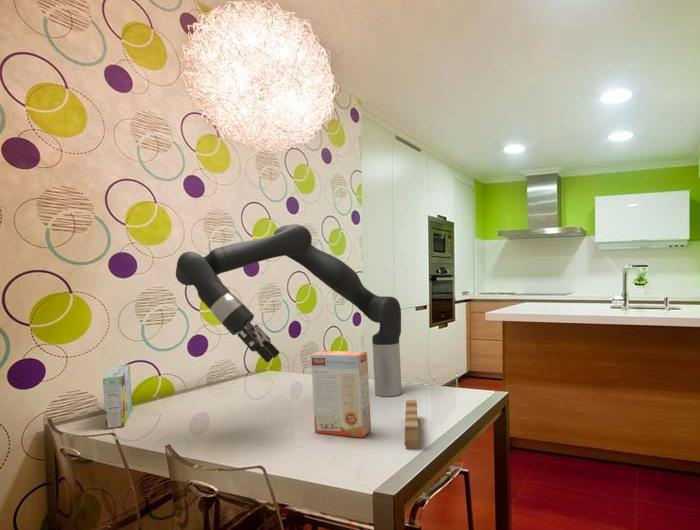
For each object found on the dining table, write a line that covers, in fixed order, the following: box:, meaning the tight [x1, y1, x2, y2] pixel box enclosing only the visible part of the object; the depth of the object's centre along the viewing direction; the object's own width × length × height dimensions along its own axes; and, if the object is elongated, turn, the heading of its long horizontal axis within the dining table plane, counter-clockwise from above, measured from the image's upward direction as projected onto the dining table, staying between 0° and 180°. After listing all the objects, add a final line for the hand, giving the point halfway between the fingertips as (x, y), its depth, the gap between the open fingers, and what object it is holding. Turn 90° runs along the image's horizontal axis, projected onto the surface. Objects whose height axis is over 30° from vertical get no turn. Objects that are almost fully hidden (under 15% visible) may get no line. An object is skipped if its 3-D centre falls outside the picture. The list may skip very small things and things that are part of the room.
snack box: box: [102, 364, 133, 430], centre depth 146 cm, size 21×6×15 cm, turn 19°
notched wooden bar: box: [404, 399, 420, 450], centre depth 121 cm, size 24×3×5 cm, turn 173°
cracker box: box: [311, 350, 372, 438], centre depth 124 cm, size 14×6×21 cm, turn 64°
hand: (274, 357), depth 124 cm, fingers open, 8 cm apart
